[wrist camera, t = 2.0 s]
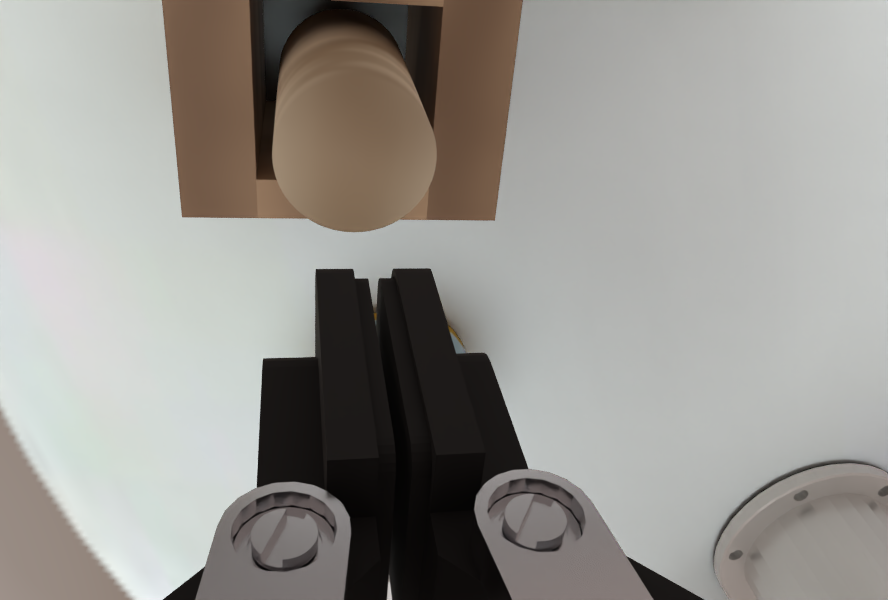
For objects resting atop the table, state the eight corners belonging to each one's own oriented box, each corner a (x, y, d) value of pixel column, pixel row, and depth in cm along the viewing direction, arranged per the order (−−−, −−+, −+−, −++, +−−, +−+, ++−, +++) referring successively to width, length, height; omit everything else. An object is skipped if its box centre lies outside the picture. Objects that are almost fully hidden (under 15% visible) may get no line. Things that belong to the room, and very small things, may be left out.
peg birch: (407, 12, 25) (443, 80, 19) (400, 134, 27) (430, 233, 21) (277, 5, 24) (269, 73, 18) (280, 131, 27) (273, 231, 20)
